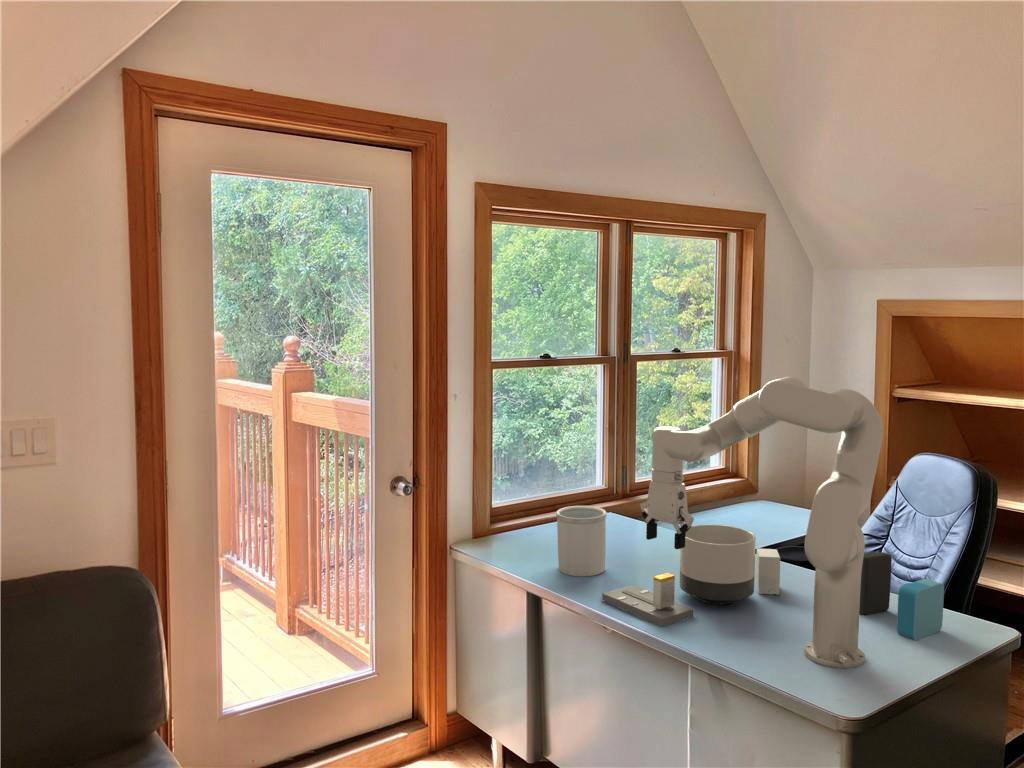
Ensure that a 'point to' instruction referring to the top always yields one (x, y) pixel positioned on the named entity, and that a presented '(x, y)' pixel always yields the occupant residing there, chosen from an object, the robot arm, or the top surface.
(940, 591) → the data package
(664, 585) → the fader tab
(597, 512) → the utensil holder
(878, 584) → the card reader
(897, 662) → the top surface
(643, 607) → the console board
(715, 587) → the planter
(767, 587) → the small box
